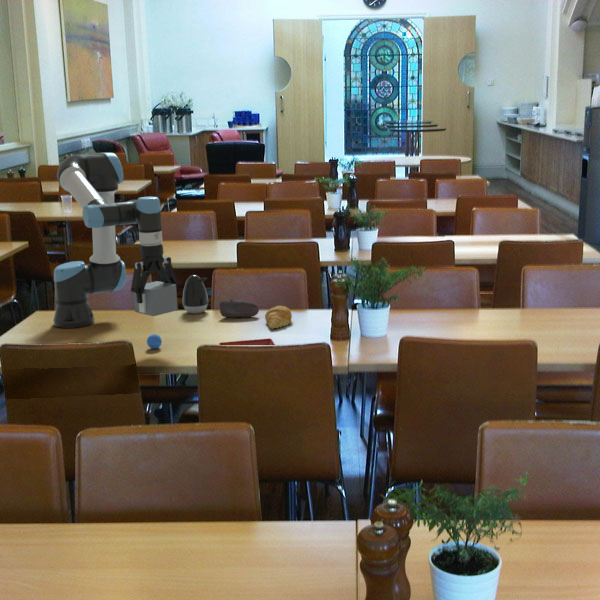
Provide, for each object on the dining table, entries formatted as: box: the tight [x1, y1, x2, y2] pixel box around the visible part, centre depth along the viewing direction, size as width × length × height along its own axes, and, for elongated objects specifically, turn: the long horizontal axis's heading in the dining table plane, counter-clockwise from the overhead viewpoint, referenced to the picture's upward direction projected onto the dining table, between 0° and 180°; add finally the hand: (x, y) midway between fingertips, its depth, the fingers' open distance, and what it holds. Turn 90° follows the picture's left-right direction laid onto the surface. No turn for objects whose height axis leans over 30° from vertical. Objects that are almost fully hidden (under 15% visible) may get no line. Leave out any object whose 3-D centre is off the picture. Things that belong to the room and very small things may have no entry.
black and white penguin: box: [182, 274, 209, 315], centre depth 344 cm, size 10×10×15 cm
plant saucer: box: [218, 338, 276, 346], centre depth 286 cm, size 18×18×3 cm
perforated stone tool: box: [219, 299, 259, 319], centre depth 335 cm, size 15×5×7 cm, turn 84°
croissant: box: [264, 305, 293, 330], centre depth 325 cm, size 21×10×8 cm, turn 169°
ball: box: [146, 333, 163, 350], centre depth 297 cm, size 5×5×5 cm
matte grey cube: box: [132, 280, 178, 317], centre depth 292 cm, size 10×10×9 cm
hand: (156, 309), depth 293 cm, fingers closed on matte grey cube, 10 cm apart
